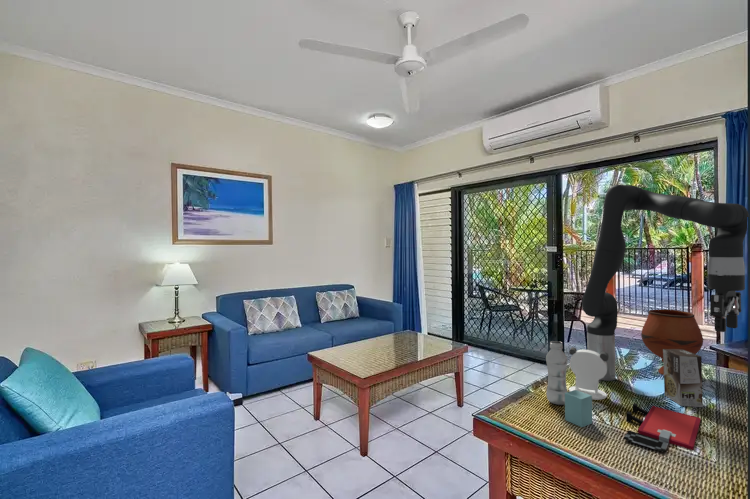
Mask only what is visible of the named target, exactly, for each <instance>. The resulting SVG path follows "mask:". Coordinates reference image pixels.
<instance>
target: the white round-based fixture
mask: <svg viewBox="0 0 750 499" xmlns="http://www.w3.org/2000/svg"><path fill="white" fill-rule="evenodd" d="M568 353H569V355H570V356H571V357H570V360H569V367H570V370H571V371H572V373H573V374H574V376H575V385H573V386H570V387H569V389H568V392H570V391H573V390H577V391H580V392H583V393H586V394H588V395H591V396H592V401H594V400H595V401H596V400H597V401H599V400H604V399H606V398H608V395H607V393H606V392H605V391H603V390H601V389H599V384H600V383H601V382H602V381H603V380H602V378H603V377H604V376H605V375H606V373H607V363H606V361H607V360H608V357H609V356H608V354H607V353H606V352H604V351H603V352H601V354H599V353H597V352H595V351H591V350H587V349H577V348H576V347H574V346H572V347H571V348H570V349H569V352H568Z"/></svg>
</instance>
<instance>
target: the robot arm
mask: <svg viewBox="0 0 750 499" xmlns="http://www.w3.org/2000/svg"><path fill="white" fill-rule="evenodd" d="M624 211H650V212H655V213H658V214H660V215H662V216H665V217H668V218H669V217H670V218H673V219H678V220H682V221H686V222H687V221H689V222H693V223H696V224H699V225H702V226H705V227H709V228H710V227H711V228H716V229H717V234H716V236H714V237H712V238H710V239H709V242H708V262H707V288H708V289H709V290H715V291H716V293H715V294H710V303H709V305H710V308H709V312H710V313H709V314H710V316H711V317H713V318H714V331H715V332H718V333H719V332H721V333H725V332H727V328H728V329H729V328H730V329H737V328H738V325H739V324H738V323H739V322H738V319H739V317H738V316H739V315H740V313H742V297H741V296H742V293H741V292H742V291H744V290H746V289H745V288H746V283H745V282H746V278H745V277H746V271H745V269H746V267H745V260H744V240H745V238H746V235H747V231H748V228H747V217H749V218H750V214H749V211H748V209H747V208H746V207H745V206H744V205H742V204H739V203H732V202H731V203H729V202H728V203H727V202H714V201H706V200H703V199H701V198H695V197H690V196H689V197H688V196H682V195H676V194H675V195H672V194H663V193H658V192H653V191H650V190H647V189H644V188H642V187H638V186H635V185H629V184H613V185H612V186H610V187H609V188H608V189H607V191H606V193H605V196H604V201H603V210H602V218H601V225H600V230H599V236H598V241H597V245H596V248H595V253H594V258H593V259H594V260H593V263H592V267H591V271H590V274H589V280H588V283H587V284H586V288H585V291H584V293H583V296H582V300H581V301H582V302H581V308H582V310H583V312H584V313H585V315H586V316H588V317H594V318H593V320H592V321H591V322H590V323H588V324H587V327H586V339H587V340H586V341H587V343H586V346H587V349H586V350H591V351H595V352H597V353H599V354H601V352H603V351H604V352H606V353H607V354H608V356H609V357H608V360H607V361H606V363H607V373H606V375H605V376H604V377H603V378H602V380H601V381H607V382H611V381H615V380H616V375H617V374H616V339H615V336H616V334H615V330H616V329H617V326H618V312H619V311H618V303H617V299H616V297H615V296H614V295H613V294H611V293H609V292H606V291H607V288H608V285H609V284H610V281H611V280H612V279H613V277H614V276H616V274H617V273H618V271H619V270H620V269H621V266H622V264H623V263H624V258H625V255H626V251H627V250H626V249H627V243H626V239H625V235H624V233H623V230H622V229H623V228H622V222H623V216H624Z"/></svg>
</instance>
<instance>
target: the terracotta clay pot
mask: <svg viewBox="0 0 750 499" xmlns="http://www.w3.org/2000/svg"><path fill="white" fill-rule="evenodd" d="M647 313H648V315H647V318H646V320H645V322H644V323H643V326H642V328H641V334H640V336H641V339H642V340H641V341H642V342H643V344H644V346H645V347H646V348H647V349H648V350H649V351H650V352H651V353H652V354H653V355H656V356H657V357H659V358H660V359H661V360H660V361H661V362H662V363H663V349H683V350H686V351H689V352H691V353H694V354H696V355H697V353H699V351H700V350H701V349H702V348H703V343H704V337H703V333H702V330H701V328H700V326H699V324H698V322H697V319H696V317H695V314H693V313H691V312H689V311H683V310H676V309H650V310H648V312H647ZM657 372H658V373H659V374H660V375H663V376H664V364H663V365H662V366H660V368H659V369H658V371H657Z"/></svg>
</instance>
